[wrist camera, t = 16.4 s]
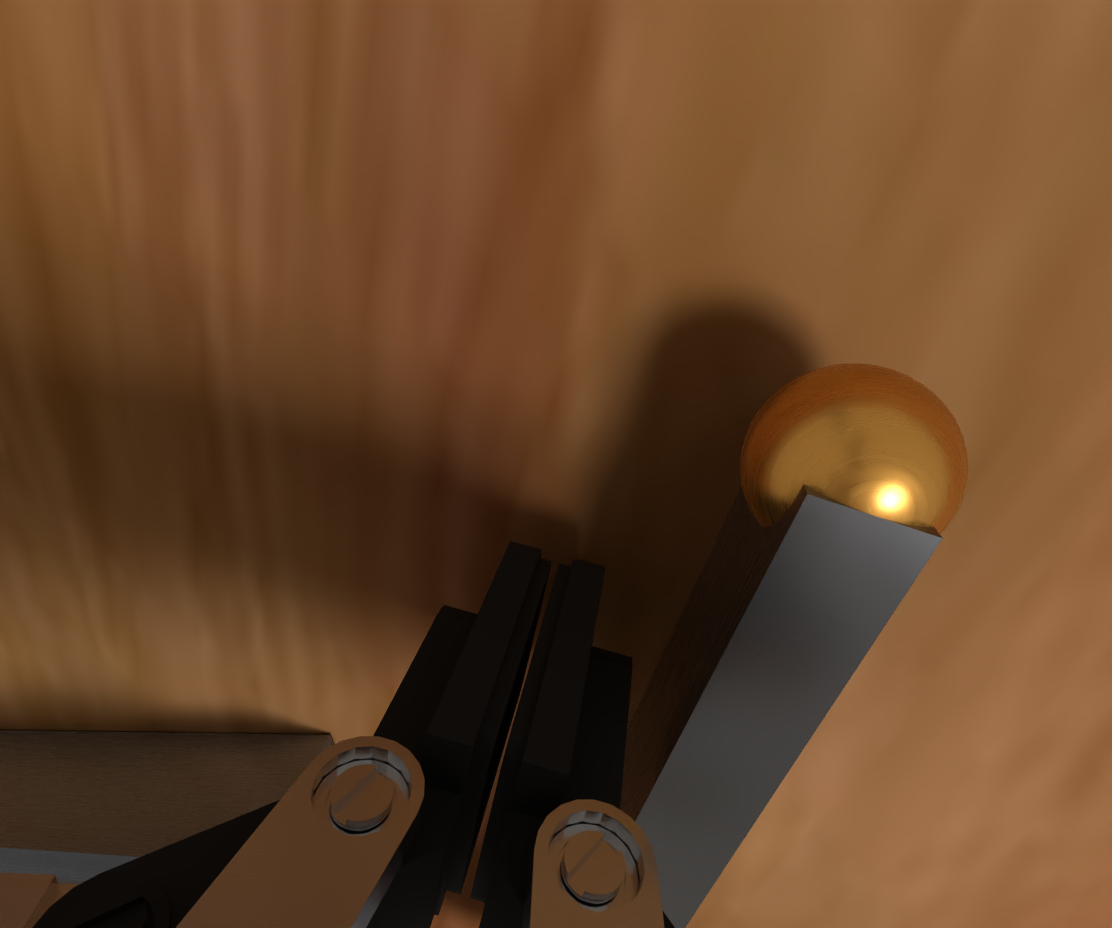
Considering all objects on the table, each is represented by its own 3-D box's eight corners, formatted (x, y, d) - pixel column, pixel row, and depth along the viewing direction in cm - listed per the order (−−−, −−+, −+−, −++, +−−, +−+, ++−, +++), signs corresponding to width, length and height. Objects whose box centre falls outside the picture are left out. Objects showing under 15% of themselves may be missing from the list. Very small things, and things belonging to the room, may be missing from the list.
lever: (747, 298, 9) (795, 383, 5) (958, 365, 9) (1157, 500, 5) (490, 928, 16) (434, 1146, 12) (603, 969, 16) (581, 1202, 12)
